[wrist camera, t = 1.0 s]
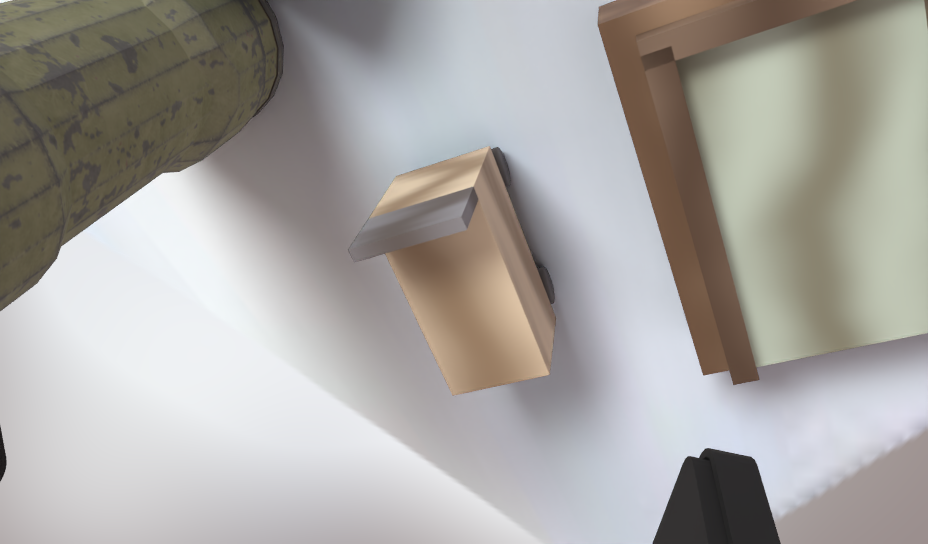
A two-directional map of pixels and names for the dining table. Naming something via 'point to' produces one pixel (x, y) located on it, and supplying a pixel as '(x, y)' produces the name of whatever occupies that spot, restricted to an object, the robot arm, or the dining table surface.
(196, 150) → the thermos
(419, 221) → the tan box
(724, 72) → the dock
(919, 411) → the dining table surface
